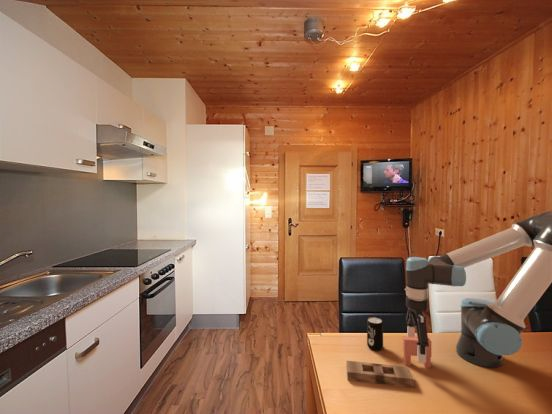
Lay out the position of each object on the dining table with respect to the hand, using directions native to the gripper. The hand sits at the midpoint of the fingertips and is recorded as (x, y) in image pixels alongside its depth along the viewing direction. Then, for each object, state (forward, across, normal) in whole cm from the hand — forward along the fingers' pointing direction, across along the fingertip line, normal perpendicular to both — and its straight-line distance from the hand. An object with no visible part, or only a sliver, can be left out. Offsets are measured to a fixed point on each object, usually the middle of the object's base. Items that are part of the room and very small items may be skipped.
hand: (416, 351), depth 106 cm
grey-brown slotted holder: (+5, +11, -16) cm, 20 cm away
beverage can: (+5, -10, -14) cm, 18 cm away
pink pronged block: (+5, 0, 0) cm, 5 cm away
